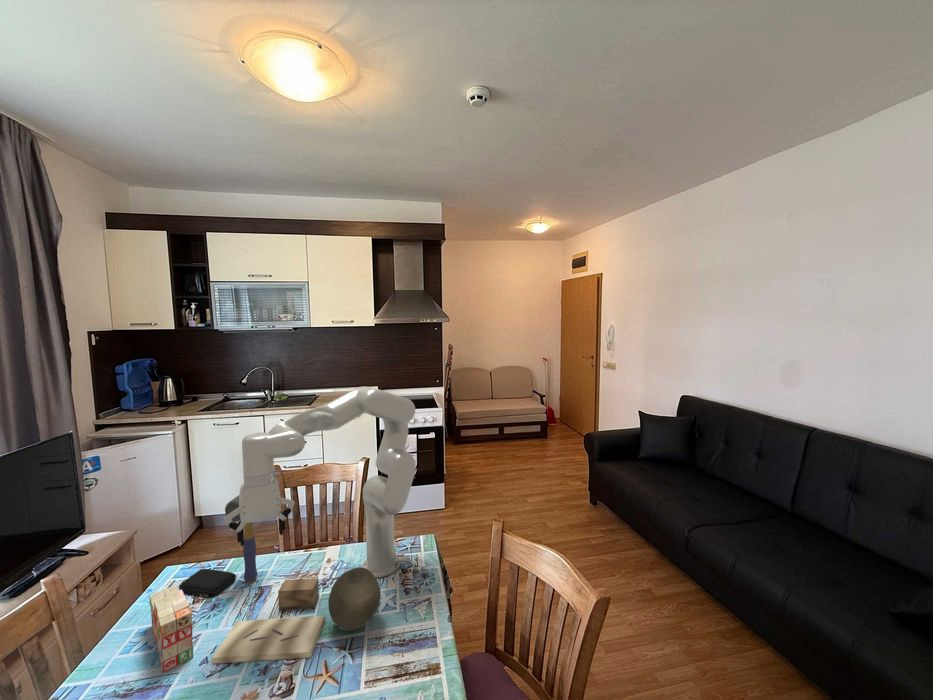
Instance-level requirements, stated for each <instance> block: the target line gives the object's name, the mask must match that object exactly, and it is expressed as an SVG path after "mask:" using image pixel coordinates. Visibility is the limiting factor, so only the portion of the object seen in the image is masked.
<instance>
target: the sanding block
mask: <svg viewBox="0 0 933 700" xmlns="http://www.w3.org/2000/svg"><path fill="white" fill-rule="evenodd" d="M319 587H320V586H319V578H318V577H317V578H298V579H296V578H295V579H285V580H284V581H283V583H282V585H281V586H280V588H279V589H278V591H277V595H278V596H277V597H278V610H279V611H287V610H304V609H314V608H315V606H316V605H317V604H316V603H317V602H318V599H319V598H320V591H319V590H320V589H319Z"/></svg>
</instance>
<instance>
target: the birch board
mask: <svg viewBox="0 0 933 700" xmlns="http://www.w3.org/2000/svg"><path fill="white" fill-rule="evenodd" d="M325 623H326V616H325V615H321V616H320V615H319V616H318V615H317V616H302V617H301V616H300V617H287V618H286V617H284V618H270V619H252V620H251V619H250V620H248V619H247V620H237V621H236V623H235V624H234V625H233V627H232V628H231V630H230V631H229V632H228V634H226V637H225V638H224V640H223V641H222V643H221V644H220V646H218V648H217V649H216V651H215V652H214V654H213V655H212V657H211V664H213V665H214V664H226V663H227V664H229V663H244V662H257V661H259V662H260V661H271V660H272V661H273V660H274V661H275V660H288V659H305V658H306V659H307V658H311V657H312V655H313V653H314V650H315V647H316V646H317V643H318V640H319V637H320V635H321V634H322V633H321V632H322V629H323V627H324V625H325Z"/></svg>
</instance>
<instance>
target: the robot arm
mask: <svg viewBox="0 0 933 700" xmlns="http://www.w3.org/2000/svg"><path fill="white" fill-rule="evenodd" d="M364 414H366V415H369V416H372V417H376V418H379V419H382V421H383V425H384V426H383V428H384V429H383V436H382V439H381V443H380V446H379V448H378V451H377V454H376V455H377V456H376V459H375V467H376V469H377V470H378V471H379V472H381V473H382V474H384V475H386V476H387V477H385V476H383V475H382V476H381V475H373V476H372V477H369V478H368V479H367V480H366V482H365V483H364V485H363V488H362V501H363V505H364V511H365V532H366V533H365V537H366V539H365V540H366V541H365V542H366V559H365V561H363V563H362V565H361V567H362V568H366V569H368V570H369V571H371V572H372V574H373V575H374V576H375V578H376V579H379V578H384V577H388V576H390V575H392V574H394V573H395V572H396V571H397V570H398V569H399V567H400V564H401V563H402V564H404V563H405V564H407V563H408V559H409V557H408V556H406V553H404V552H401V553H398V552H397V548H396V547H395V546H396V545H395V515H397V514H399V513H400V512H401V511H403V509H404V507H405V505H406V503H407V501H408V498H409V495H410V491H411V488H412V484H413V481H414V477H415V473H416V468H417V467H416V460H415V457H414V456H413V455H412V454H411V453H410V452H408V451H406V445H407V441H408V438H409V437H408V436H409V424H408V423H410V422H411V420H413V418H414V417H415V414H416V406H415V403H414V402H413V401H412V400H411V399H410V398H406V397H403V396H400V395H396V394H393V393H390V392H387V391H385V390H382V389H379V388H374V387H371V386H359V387H356V388H354V389H352V390H350V391H349V392H347V393H345V394H343V395H341V396H339V397H337V398H335V399H333V400H331V401H329V402H327V403H325V404H323V405H321V406H317V407H313V408H311V409H309V410H308V409H307V410H305V411H303V412H299V413H297V414H294V415H293V416H291V417H288V418H287V419H285V420H283V421H281V422H279V423H277V424H276V425H274V426H273V427H272V428H271V429H270V430H269V431H268V432H255V433H253V432H252V433H250V434H247V435H245V436H244V437H243V438H242V441H241V450H242V451H241V452H242V453H241V454H242V472H243V483H241V485H240V489H239V495H238V496H239V507H238V508H237V509H235V510H234V511H232V512H231V513H229V514H228V515H226V514H225V516H224V517H223V520H224V522H225V524H226V525H227V526H228V528H229V529H232V530H233V531H235V532H236V537H237V538H236V541H237V543H240V546H241V547H243V545H244V539H245V535H244V526H245V525H246V523H251V522H253V523H254V522H259V521H263V520H267V519H271V518H274V517H277V518H278V532H279V536H283V534H284V531H285V530H286V520H287V518H288V516H290V514H291V512H292V510H293V507H294V506H295V504H296V503H295V501H294V500H293V499H288V498H284V497H281V492H280V491H281V490H280V487H279V481H278V478H276V477H277V476H280V475H281V470H279V469H278V470H276V469H275V459H279V458H281V459H283V458H292V457H294V456H297V455H299V454H300V453H301V452H302V451H303V449H304V448H305V446H306V439H305V436H307V435H309V434H313V433H316V432H323V431H332V430H337V429H340V428H342V427H344V426H345V425H346V424H348V423H350V422H352V421H353V420H355V419H357V418H358V417H361V416H363V415H364ZM282 505H285V506H286V505H287V507H286V508H285V509H284V510H283V511H282ZM238 514H239V515H240V520H239V521H238V522H234V521H232V518H234V517H235V516H236V515H238Z"/></svg>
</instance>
